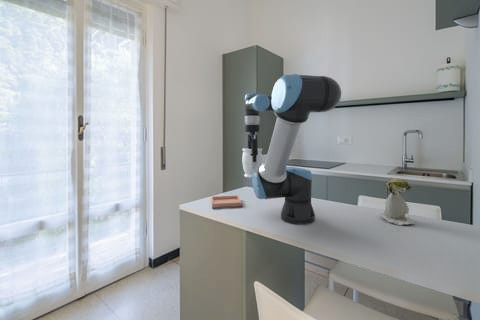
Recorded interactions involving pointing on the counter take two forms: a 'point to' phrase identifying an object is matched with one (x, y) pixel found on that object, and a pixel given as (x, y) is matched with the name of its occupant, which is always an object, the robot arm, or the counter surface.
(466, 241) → the counter surface
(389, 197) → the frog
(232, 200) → the tray
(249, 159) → the jar
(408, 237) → the counter surface
